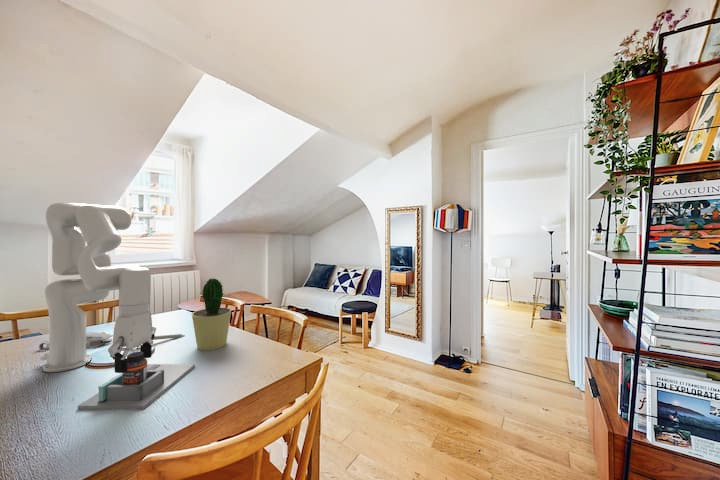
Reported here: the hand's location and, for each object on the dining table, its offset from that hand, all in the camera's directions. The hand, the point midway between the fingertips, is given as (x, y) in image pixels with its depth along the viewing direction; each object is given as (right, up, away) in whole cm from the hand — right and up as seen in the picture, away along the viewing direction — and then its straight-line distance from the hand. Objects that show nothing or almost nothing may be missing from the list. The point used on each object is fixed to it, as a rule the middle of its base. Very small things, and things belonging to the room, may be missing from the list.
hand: (134, 364), depth 87 cm
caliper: (-21, -9, +41) cm, 47 cm away
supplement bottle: (0, -8, 0) cm, 8 cm away
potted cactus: (+4, -9, +38) cm, 40 cm away
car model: (-54, -8, +38) cm, 66 cm away
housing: (-1, -9, +5) cm, 10 cm away
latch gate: (-5, -7, 0) cm, 9 cm away
